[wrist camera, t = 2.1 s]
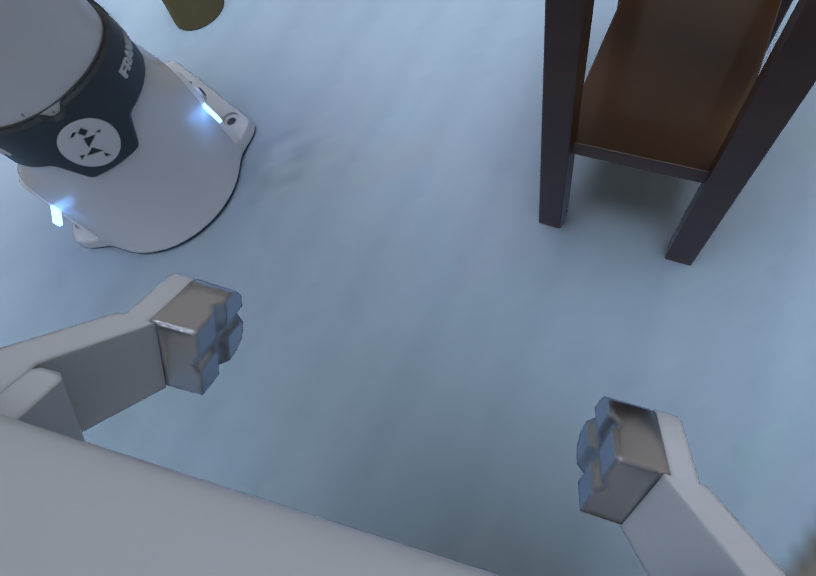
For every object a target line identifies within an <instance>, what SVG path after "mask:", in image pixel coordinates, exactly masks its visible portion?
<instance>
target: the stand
mask: <svg viewBox="0 0 816 576" xmlns="http://www.w3.org/2000/svg"><path fill="white" fill-rule="evenodd" d="M792 1H793V0H618V5H617V10H616V12H615V15H614V17H613V19H612V21H611V24H610V26H609V28H608V31H607V33H606V35H605V37H604V40H603V42H602V44H601V47H600V49H599V51H598V53H597V56H596V58H595V60H594V62H593V65H592V67H591V69H590V72H589V74H588V76H587V78H586V81H585V83H584V77H585V69H586V62H587V54H588V46H589V38H590V30H591V22H592V14H593V6H594V0H545V33H544V67H543V101H542V135H541V169H540V203H539V222H540V223H544V224H547V225H551V226H555V227H558V228H560V227H561V225H562V223H563V221H564V218H565V216H566V213H567V211H568V204H569V196H570V188H571V180H572V172H573V164H574V156H575V154H578V155H582V156H587V157H591V158H595V159H600V160H604V161H609V162H613V163H617V164H622V165H626V166H631V167H635V168H639V169H644V170H648V171H652V172H657V173H661V174H666V175H670V176H674V177H679V178H683V179H688V180H692V181H696V182H701V184H700V186H699V188H698V190H697V192H696V194H695V195H694V197H693V199H692V201H691V203H690V205H689V207H688V208H687V210H686V212H685V214H684V216H683V218H682V220H681V222H680V223H679V225H678V227H677V229H676V231H675V233H674V235H673V236H672V238H671V241H670V244H669V247H668V250H667V253H666V256H665V258H666V259H670V260H673V261H677V262H680V263H684V264H687V265H691V264H692V263H693V261H694V260H695V258H696V257H697V255H698V254H699V252H700V251H701V250H702V248H703V247H704V245H705V244H706V242H707V241H708V239H709V238H710V236H711V235H712V233H713V232H714V230H715V229H716V227H717V226H718V224H719V223H720V221H721V220H722V219H723V217H724V216H725V214H726V213H727V211H728V210H729V208H730V207H731V205H732V204H733V202H734V201H735V199H736V198H737V196H738V195H739V193H740V192H741V191H742V189H743V188H744V186H745V185H746V183H747V182H748V180H749V179H750V177H751V176H752V174H753V173H754V171H755V170H756V168H757V167H758V165H759V164H760V163H761V161H762V160H763V158H764V157H765V155H766V154H767V152H768V151H769V149H770V148H771V146H772V145H773V143H774V142H775V140H776V139H777V137H778V136H779V135H780V133H781V132H782V130H783V129H784V127H785V126H786V124H787V123H788V121H789V120H790V118H791V117H792V115H793V114H794V112H795V111H796V109H797V108H798V107H799V105H800V104H801V102H802V101H803V99H804V98H805V96H806V95H807V93H808V92H809V90H810V89H811V87H812V86H813V84H814V83H815V81H816V0H799V1H798V3H797V5H796V7H795V9H794V11H793V12H792V14H791V16H790V18H789V20H788V22H787V24H786V25H785V27H784V29H783V31H782V33H781V35H780V37H779V39H778V40H777V42H776V44H775V46H774V48H773V50H772V52H771V53H770V55H769V57H768V59H767V61H766V63H765V65H764V67H763V68H762V70H761V72H760V74H759V71H760V68H761V65H762V62H763V59H764V55H765V53H766V51H767V49H768V47H769V45H770V43H771V41H772V39H773V38H774V36H775V34H776V32H777V30H778V28H779V26H780V24H781V22H782V20H783V18H784V17H785V15H786V13H787V11H788V9H789V7H790V5H791V3H792ZM758 74H759V76H758ZM757 77H758V78H757Z"/></svg>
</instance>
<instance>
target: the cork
mask: <svg viewBox="0 0 816 576" xmlns="http://www.w3.org/2000/svg"><path fill="white" fill-rule="evenodd" d="M162 1H163V3H164V4H165V6H166V8H167V10H168V11H169V13H170V15H171V17H172V18H173V20H174V22H175V24H176V25H177V26H178V27H179V28H180V29H183V30H195V29H199V28H201V27H203V26H206V25H207V24H209V23H210V22H212V21H213V20H214V19H215V18H216V17H217V16H218V15H219V14H220V12H221V10H222V8H223V5H224V0H162Z"/></svg>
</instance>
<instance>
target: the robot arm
mask: <svg viewBox="0 0 816 576" xmlns="http://www.w3.org/2000/svg"><path fill="white" fill-rule="evenodd" d="M254 131H255V127H254V125H253V123H252V122H251V121H250V120H249V119H248V118H247V117H246V116H244V115H243V114H242V113H241V112H239V111H238V110H237V109H236V108H234V107H233V106H232V105H231V104H229V103H228V102H227V101H226V100H224V99H223V98H222V97H220V96H219V95H218V94H217V93H215V92H214V91H213V90H212V89H210V88H209V87H208V86H207V85H205V84H204V83H203V82H202V81H200V80H199V79H198V78H197V77H195V76H194V75H193V74H191V73H190V72H189V71H188V70H186V69H185V68H184V67H183V66H181V65H180V64H179V63H177V62H175V61H168V62H164V63H163V62H162V61H160V60H159V59H158V58H156V57H155V56H154V55H152V54H151V53H149V52H148V51H147V50H145V49H144V48H142V47H141V46H139V45H138V44H136V43H135V42H133V41H132V40H131V39H130V38H129V36H128V35H127V33H126V32H125V31H124V30H123V29H122V27H121V26H120V25H119V24H118V23H117V22H116V21H115V20H114V19H112V18H111V17H110V16H109V15H108V14H107V12H106V11H105V10H104V9H103V8H102V7H101V6H100V5H99V4H98V3H96V2H95V1H94V0H0V153H1V154H3V155H5V156H6V157H8V158H9V159H11V160H12V161H14V162H16V163H18V166H17V169H18V174H19V176H20V178H19V182H20V183H21V184H22V186H23V187H24V188H26V189H27V190H28V191H30V192H31V193H32V194H34V195H35V196H36V197H38V198H39V199H41V200H42V201H43V202H45V203H46V204H48V205H49V206H50V207H51V213H52V221H53V223H54V224H56V225H58V226H59V227H60V226H62V225H63V222H62V215H63V216H65V217H66V218H67V219H69V220H70V221H72V222H73V232H74V238H75V240H76V241H77V242H79V243H80V244H81V245H83V246H84V247H86V248H98V247H105V246H114V247H118V248H121V249H124V250H127V251H130V252H137V253H149V252H156V251H161V250H165V249H168V248H171V247H173V246H176V245H178V244H180V243H182V242H184V241H186V240H188V239H189V238H191V237H192V236H194V235H195V234H197V233H198V232H199V231H201V230H202V229H203V228H204V227H206V226H207V225H208V224H209V223H210V222H211V221H212V220H213V219H214V218H215V217H216V216H217V214H218V213H219V212H220V211H221V209H222V208H223V207H224V205H225V204H226V202H227V201H228V199H229V197H230V196H231V194H232V192H233V189H234V187H235V184H236V182H237V178H238V174H239V169H240V162H241V158H242V154H243V152H244V150H245V149H246V147H247V146H248V144H249V142H250V140H251V138H252V136H253V134H254ZM61 214H62V215H61ZM241 307H242V298H241V294H240V293H238V292H237V291H234V290H231V289H228V288H224V287H221V286H218V285H215V284H212V283H208V282H205V281H202V280H199V279H194V278H191V277H188V276H184V275H181V274H178V273H176V274H172V275H170V276H169V277H167V278H166V279H165V280H164V281H163V282H162V283H161V284H159V285H158V286H157V287H156V288H155V289H154V290H152V291H151V292H150V293H149V294H148V295H147V296H146V297H144V298H143V299H142V300H141V301H140V302H139V303H138V304H136V305H135V306H134V307H133V308H132V309H131V310H130V311H128V312H127V313H126V314H122V313H115V314H112V315H109V316H105V317H102V318H99V319H96V320H92V321H89V322H86V323H82V324H79V325H76V326H72V327H69V328H66V329H62V330H59V331H56V332H52V333H49V334H46V335H42V336H39V337H36V338H32V339H29V340H26V341H22V342H19V343H16V344H12V345H9V346H6V347H3V348H0V576H501V575H498V574H494V573H491V572H488V571H485V570H482V569H479V568H476V567H473V566H469V565H466V564H463V563H460V562H457V561H454V560H451V559H448V558H445V557H441V556H438V555H435V554H432V553H429V552H426V551H423V550H420V549H417V548H413V547H410V546H407V545H404V544H401V543H398V542H395V541H392V540H388V539H385V538H382V537H379V536H376V535H373V534H370V533H367V532H364V531H361V530H357V529H354V528H351V527H348V526H345V525H342V524H339V523H336V522H333V521H330V520H326V519H323V518H320V517H317V516H314V515H311V514H308V513H305V512H302V511H299V510H295V509H292V508H289V507H286V506H283V505H280V504H277V503H274V502H271V501H268V500H265V499H261V498H258V497H255V496H252V495H249V494H246V493H243V492H240V491H237V490H233V489H230V488H227V487H224V486H221V485H218V484H215V483H212V482H209V481H206V480H202V479H199V478H196V477H193V476H190V475H187V474H184V473H181V472H178V471H175V470H171V469H168V468H165V467H162V466H159V465H156V464H153V463H150V462H147V461H144V460H140V459H137V458H134V457H131V456H128V455H125V454H122V453H119V452H116V451H112V450H109V449H106V448H103V447H100V446H97V445H94V444H91V443H88V442H86V441H85V439H84V436H83V433H82V432H83V431H85V430H87V429H89V428H91V427H92V426H94V425H96V424H98V423H100V422H102V421H104V420H106V419H107V418H109V417H111V416H113V415H115V414H117V413H119V412H121V411H122V410H124V409H126V408H128V407H130V406H132V405H134V404H136V403H137V402H139V401H141V400H143V399H145V398H147V397H149V396H151V395H152V394H154V393H156V392H158V391H160V390H162V389H164V388H166V385H168V386H172V387H175V388H179V389H182V390H186V391H190V392H193V393H197V394H201V395H203V394H204V393H205V392H206V390H207V389H208V388H209V387H210V385H211V384H212V383H213V381H214V380H215V379H216V377H217V376H218V375H219V364H222V363H224V362H226V361H229V360H230V359H231V358H232V356H233V355H234V354H235V352H236V351H237V348H238V346H239V344H240V341H241V339H242V333H243V321H242V319H241V318H240V317H239V315H238V314H237V312H238V311H239V310H240V308H241ZM577 465H578V466H579V467H580V469H581V470H582V472H583V473H584V474H583V475H582V477H581V478H580V480H579V481H578V490H579V505H580V511H582V512H585V513H588V514H591V515H594V516H597V517H600V518H603V519H606V520H609V521H612V522H615V523H618V524H621V526H620V527H621V528H622V530H623V532H624V534H625V535H626V537H627V539H628V541H629V542H630V544H631V546H632V548H633V550H634V551H635V553H636V555H637V557H638V558H639V560H640V562H641V564H642V565H643V567H644V569H645V571H646V572H647V574H648V576H786V575H785V573H784V572H783V571H782V570H781V569H780V568H779V567H778V566H777V564H776V563H775V562H774V561H773V560H772V559H771V558H770V557H769V555H768V554H767V553H766V552H765V551H764V550H763V549H762V548H761V546H760V545H759V544H758V543H757V542H756V541H755V540H754V538H753V537H752V536H751V535H750V534H749V533H748V532H747V531H746V529H745V528H744V527H743V526H742V525H741V524H740V523H739V522H738V520H737V519H736V518H735V517H734V516H733V515H732V514H731V513H730V511H729V510H728V509H727V508H726V507H725V506H724V505H723V504H722V502H721V501H720V500H719V499H718V498H717V497H716V496H715V495H714V493H713V492H712V491H711V490H710V489H709V488H708V487H707V486H703V485H700V483H699V479H698V476H697V472H696V469H695V466H694V462H693V459H692V455H691V452H690V449H689V445H688V442H687V438H686V435H685V432H684V428H683V425H682V421H681V420H680V419H679V417H678V416H675V415H671V414H668V413H664V412H660V411H657V410H651V409H648V408H645V407H641V406H637V405H634V404H630V403H627V402H623V401H619V400H616V399H612V398H609V397H605V396H604V397H603V398H601V399H600V400H599V402H598V403H597V405H596V406H595V418H593V419H591V420H589V421H586V423H585V425H584V427H583V429H582V430H581V433H580V436H579V440H578V443H577Z"/></svg>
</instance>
